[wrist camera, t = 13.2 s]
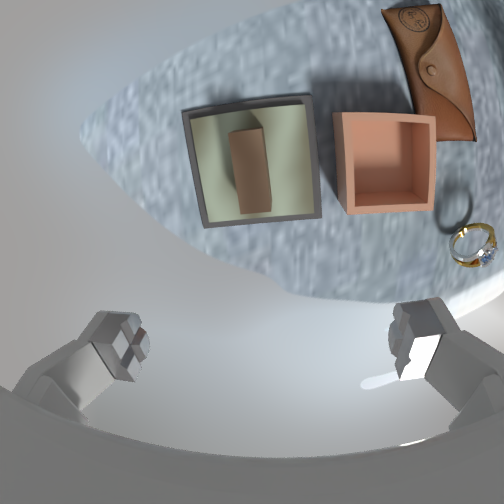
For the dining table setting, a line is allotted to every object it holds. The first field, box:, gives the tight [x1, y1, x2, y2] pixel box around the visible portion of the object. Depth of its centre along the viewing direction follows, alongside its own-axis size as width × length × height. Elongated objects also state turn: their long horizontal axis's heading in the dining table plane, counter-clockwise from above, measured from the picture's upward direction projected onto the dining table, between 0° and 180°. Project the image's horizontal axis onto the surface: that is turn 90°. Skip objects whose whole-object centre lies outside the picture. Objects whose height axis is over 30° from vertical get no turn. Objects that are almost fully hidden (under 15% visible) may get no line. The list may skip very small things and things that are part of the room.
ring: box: [449, 223, 498, 267], centre depth 28 cm, size 7×3×8 cm, turn 123°
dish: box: [332, 112, 436, 215], centre depth 26 cm, size 10×10×5 cm
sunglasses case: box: [381, 3, 477, 142], centre depth 22 cm, size 18×7×7 cm
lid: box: [190, 104, 314, 223], centre depth 28 cm, size 12×12×5 cm
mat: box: [182, 95, 322, 229], centre depth 30 cm, size 14×14×1 cm
